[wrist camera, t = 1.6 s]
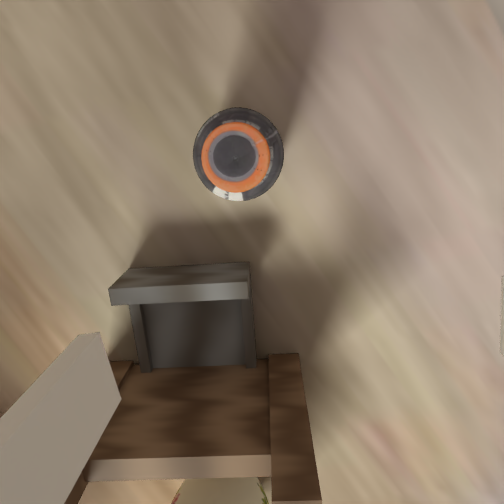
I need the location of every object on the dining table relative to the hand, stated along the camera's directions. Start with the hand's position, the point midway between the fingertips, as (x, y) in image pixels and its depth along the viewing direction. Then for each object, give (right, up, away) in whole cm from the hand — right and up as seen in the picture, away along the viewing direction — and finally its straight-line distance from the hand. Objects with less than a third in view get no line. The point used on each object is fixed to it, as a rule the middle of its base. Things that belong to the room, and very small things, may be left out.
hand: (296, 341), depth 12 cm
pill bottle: (-2, +12, +20) cm, 23 cm away
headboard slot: (-7, -4, +25) cm, 26 cm away
